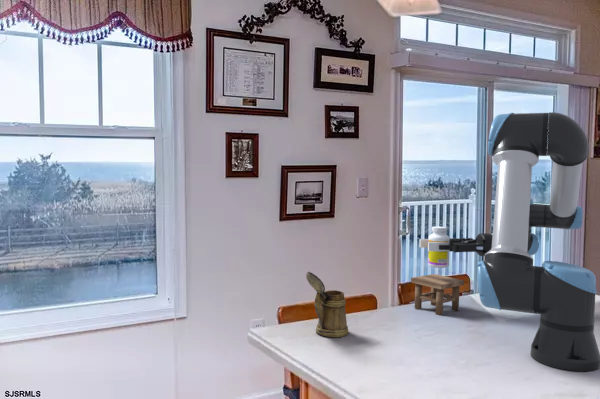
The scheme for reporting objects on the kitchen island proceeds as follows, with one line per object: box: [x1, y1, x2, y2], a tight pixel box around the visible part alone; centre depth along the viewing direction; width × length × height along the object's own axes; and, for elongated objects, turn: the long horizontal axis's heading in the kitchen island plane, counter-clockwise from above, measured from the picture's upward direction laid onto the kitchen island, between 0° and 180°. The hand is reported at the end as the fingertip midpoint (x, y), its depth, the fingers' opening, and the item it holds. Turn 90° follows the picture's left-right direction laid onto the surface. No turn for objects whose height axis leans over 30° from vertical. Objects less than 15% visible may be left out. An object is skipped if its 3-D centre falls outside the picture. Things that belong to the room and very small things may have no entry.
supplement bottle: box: [427, 225, 450, 269], centre depth 171 cm, size 7×7×13 cm
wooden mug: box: [306, 271, 349, 339], centre depth 143 cm, size 9×14×18 cm, turn 128°
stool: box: [410, 273, 465, 316], centre depth 172 cm, size 12×12×10 cm
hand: (424, 245), depth 170 cm, fingers closed on supplement bottle, 7 cm apart
